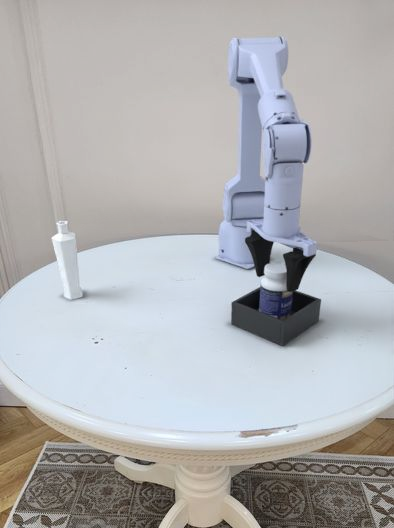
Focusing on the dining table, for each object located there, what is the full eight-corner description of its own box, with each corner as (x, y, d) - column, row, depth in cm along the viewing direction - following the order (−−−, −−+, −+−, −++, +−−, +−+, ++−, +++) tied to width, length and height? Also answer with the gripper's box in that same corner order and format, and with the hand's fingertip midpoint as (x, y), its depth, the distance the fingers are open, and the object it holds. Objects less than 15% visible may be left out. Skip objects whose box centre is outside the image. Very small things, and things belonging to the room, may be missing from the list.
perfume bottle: (90, 294, 107) (80, 221, 99) (72, 302, 104) (60, 228, 96) (76, 287, 110) (65, 216, 102) (58, 295, 107) (45, 222, 99)
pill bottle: (286, 328, 93) (290, 276, 88) (254, 323, 95) (257, 271, 89) (293, 313, 97) (298, 263, 92) (263, 308, 99) (266, 258, 94)
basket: (231, 324, 95) (231, 302, 93) (268, 302, 102) (269, 281, 100) (282, 346, 89) (284, 322, 87) (318, 321, 96) (321, 299, 93)
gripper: (334, 210, 82) (324, 290, 89) (269, 190, 92) (265, 263, 99) (301, 220, 78) (294, 302, 86) (238, 198, 88) (236, 273, 96)
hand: (277, 282), depth 92 cm, fingers open, 7 cm apart
